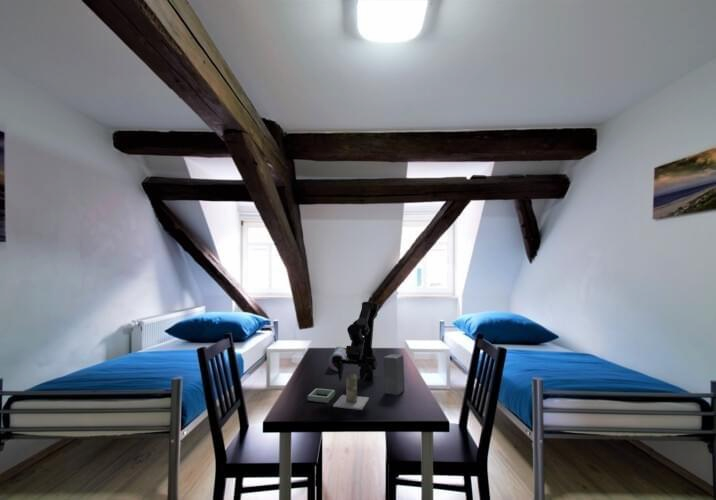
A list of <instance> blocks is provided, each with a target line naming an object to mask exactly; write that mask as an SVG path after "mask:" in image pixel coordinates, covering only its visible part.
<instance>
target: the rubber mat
mask: <svg viewBox="0 0 716 500" xmlns="http://www.w3.org/2000/svg"><path fill="white" fill-rule="evenodd" d="M369 400H370V397H368V396H358V395H357V402H356V403H352V404H351V403H347V402H346V394H342V395H341V396H340V397H339V398H338V399H337V401H335V403H333V405H332V407H333V408H338V409H339V408H341V409H349V410H357V411H359V410H360V411H363V409H364V407H365V406H366V404H367V403H368V401H369Z"/></svg>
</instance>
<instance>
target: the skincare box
mask: <svg viewBox="0 0 716 500" xmlns="http://www.w3.org/2000/svg"><path fill="white" fill-rule="evenodd" d="M383 373H384V374H383V375H384V377H383V379H384V394H390V395H395V396H399V395H400V394H401V393H403V392H404V391H405V390H406V387H405V369H404V354H393V353H391V354H389V355H386V356H383Z"/></svg>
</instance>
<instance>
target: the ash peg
mask: <svg viewBox="0 0 716 500" xmlns="http://www.w3.org/2000/svg"><path fill="white" fill-rule="evenodd" d="M345 388H346V391H345V392H346V393H345V395H346V402H347V403H351V404H352V403H356V402H357V396H358V373H357V372H347V373H346V374H345Z"/></svg>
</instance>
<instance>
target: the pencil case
mask: <svg viewBox="0 0 716 500" xmlns="http://www.w3.org/2000/svg"><path fill="white" fill-rule="evenodd" d="M332 353H333V354H332V355H331V356H330V357H329V360H328V365H329V367H330V369H331V370H333V371H335V372H338V369H336V367H334V365H333V363H332V361H331V360H332V357H333V356H334V355H338V356H342V358H343V359H348V357H347V354H346V348H344V347H343V346H336V347H335V348H334V350H333V352H332ZM344 366H345V364H344V365H343V367H344Z"/></svg>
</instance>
